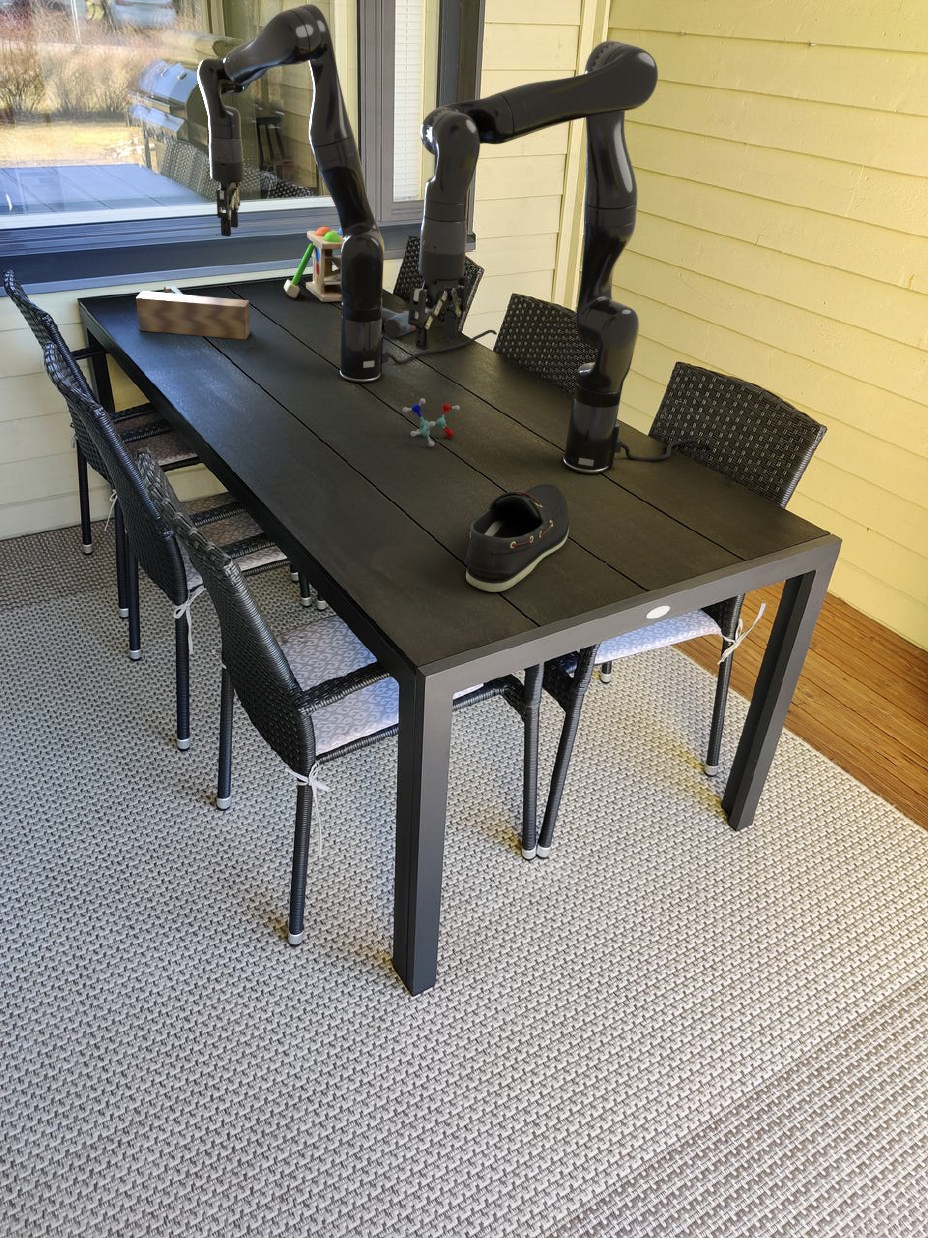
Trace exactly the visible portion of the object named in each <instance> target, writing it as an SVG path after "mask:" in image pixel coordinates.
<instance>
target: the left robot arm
mask: <svg viewBox="0 0 928 1238" xmlns="http://www.w3.org/2000/svg"><path fill="white" fill-rule="evenodd" d="M307 62H308V64H309V67H310V71H311V73H310V74H311V77H312V84H313V99H312V106H311V112H310V118H309V125H308V139H309V144H310V147H311V151H312V154H313V158H314V160H315V164H316V167H317V170H318V173H319V175H320V177H321V179H322V181H323V184H324V185H325V188H326V190H327V192H328V194H329V196H330V197H331V199H332V201H333V204H334V206H335V210H336V213H337V217H338V221H339V226H340V228H341V231H342V237H343V245H342V249H340V256H341V301H340V302H341V307H340V308H341V310H340V311H341V312H340V314H341V315H340V322H341V323H340V370H339V376H340V377H341V378H342V380H345V381H348V382H352V383H359V384H360V383H361V384H364V383H365V384H366V383H367V384H369V383H373V382H376V381H378V380H380V378H381V375H382V374H383V364H386V363H388V362H389V359H390V358H391V360H392V361H393V362H394V363H395V364H397V365H398V364H399V365H404V364H406V363H408V362H410V361H412V360H414V359H416V358H418V357H422V356H427V355H432V354H433V355H434V354H440V353H444V352H448V351H449V352H450V351H453V350H456V349H459V348H463V347H465V346H467V345H469V344H472V343H473V342H475V341H476V340H478V339H480V338H483V337H484V336H486V335H488V334H493V335H495V336H497V335H498V333H497V332H496V330H494V329H488V330H485V331H484V332H481V333H479V334H477V335H475V336H473V337H472V338H470V339H469V340H467V341H464V342H462V343H459V344H456V345H452V346H447V347H444V348H438V349H433V350H425V351H421V352H416V353H414V354H413V355H411V356H409V357H407V358H406V359H403V360H398V359H397V358H396V356H395V355H394V354H393V353H389V352H390V351H388V350H386V349H384V335H383V334H382V327H383V326H382V307H383V299H384V298H383V297H384V296H383V295H384V294H383V292H384V291H383V287H384V286H383V284H384V283H383V282H384V261H385V260H384V258H385V257H384V256H385V243H384V242H385V241H384V239H383V236H382V234H381V232H380V228H379V226H378V224H377V222H376V219H375V215H374V213H373V210H372V207H371V205H370V202H369V198H368V194H367V188H366V181H365V176H364V175H365V174H364V172H363V171H364V170H363V166H362V162H361V161H362V160H361V158H360V153H359V148H358V145H357V142H356V138H355V134H354V131H353V127H352V125H351V121H350V117H349V114H348V111H347V106H346V103H345V98H344V94H343V89H342V86H341V81H340V77H339V70H338V65H337V59H336V55H335V50H334V44H333V38H332V34H331V30H330V27H329V24H328V21H327V19H326V16H325V15H324V13H323V12H322V10H321V9H320V8H319V6H317V5H315V4H312V3H308V4H307V3H306V4H303V5H299V6H296V7H293V8H290V9H286V10H284V11H280V12H278V13H277V14H276V15H274V16H273V17H272V18H271V19H270V20H269V21H268V22H267V23H266V24H265V25H264V27H263V28H262V29H261V30H260V31H259V32H258V33H257V34H256V35H255V36H254V37H253V38H250V39H249V40H247V41H245V42H243V43H241V44H239V45H238V46H236V47H234V48H232V49H231V50H230V51H228V53H226V55H225V56H224V58H217V57H215V58H214V57H213V58H211V57H210V58H204V59H203V60H201V62H200V63H199V65H198V69H197V81H198V84H199V85H198V86H199V88H200V91H201V94H202V97H203V101H204V105H205V109H206V112H207V116H208V131H209V132H208V134H209V138H208V139H209V140H208V141H209V143H208V152H209V170H210V171H209V172H210V178H211V180H212V181H215V182H218V183H219V188H218V189H216V191H215V193H216V216H217V218H218V219H219V220H220V234H221V236H222V237H231V236H232V228H233V229H237V228H238V227H239V210H240V206H241V199H240V197H241V196H240V183H242V182H243V181H244V179H245V174H244V171H245V169H244V149H243V142H242V141H243V140H242V126H241V123H242V121H241V114H240V111H239V110H238V109H237V108H235V107H232V106H228V105H225V104H224V102H223V99H222V96H234V95H236V96H237V95H240V94H242V93H244V92H246V91H247V90H248V88H249V87H250V85H251V84H252V83H254V82H256V81H258V80H260V79H261V78H263V77H264V76H265V75H267V74H268V73H269V71H270V70H271V69H272V68H277V67H285V66H293V65H302V64H303V63H307ZM224 211H225V212H224Z"/></svg>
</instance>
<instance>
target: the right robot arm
mask: <svg viewBox="0 0 928 1238" xmlns="http://www.w3.org/2000/svg"><path fill="white" fill-rule="evenodd" d="M658 79H659V70H658V65H657V62H656V60H655V58H654V57H653V55H652V54H650V52H648V51H647V50H646V49H644V48H642V47H639V46H636V45H633V44H629V43H625V42H621V41H615V40H605V41H602V42H600V43H599V44H597V45H596V46H595V47H594V48H593V49H592V51H591V52H590V53H589V55H588V58H587V60H586V63H585V67H584V73H583V74H579V75H575V76H571V77H564V78H559V79H552V80H551V79H550V80H542V81H535V82H530V83H525V84H521V85H517V86H515V87H512V88H509V89H506V90H502V91H500V92H496V93H493V94H491V95H489V96H486V97H483V98H478V99H470V100H464V101H459V102H454V103H449V104H445V105H441V106H438V107H437V108H435V109H433V110H431V112H429V113H427V115H426V116H425V118H424V119H423V121H422V123H421V126H420V140H421V142H422V145H423V146H424V148H425V149H426V151H428V152H429V153H430V154H431V155H433V156H435V157H437V163H436V168H435V173H434V175H433V176H431V177H430V178H428V179H427V181H426V183H425V187H424V194H423V197H424V198H423V208H422V209H423V212H422V222H421V227H420V235H419V237H420V238H419V255H418V273H419V275H420V276H421V277H422V278H423V284H422V286H421V287H422V288H416V287H411V289H410V293H409V305H408V311H409V315H408V324H410V325H413V326H416V330H415V341H414V342H415V343H414V344H415V348H416V349H418V350H421V351H423V352H425V351H428V350H429V347H430V329H431V328H430V327H431V324H432V322H433V321H434V320H433V318H434V319H435V318H437V316H438V315H439V312H440V311H442V310H444V312H445V314H446V315H445V316H444V324H443V325H444V326H443V336H444V338H445V339H450V340H455V339H456V338H457V332H458V323H459V318H460V317H461V315H462V312H464V313H465V312H466V311H467V308H468V293H469V290H468V289H469V277H468V276H464V274H465V263H466V262H465V261H466V251H467V250H466V248H467V235H468V231H467V229H468V228H467V216H468V204H469V191H470V187H471V185H472V182H473V179H474V176H475V171H476V168H477V164H478V161H479V158H480V151H481V145H482V144H483V145H484V144H486V145H501V144H505V143H508V142H511V141H514V140H518V139H520V138H524V137H525V136H528V135H532V134H534V133H536V132H540V131H542V130H546V129H548V128H551V127H554V126H558V125H561V124H565V123H568V122H573V121H576V120H580V119H584V118H585V130H586V131H585V133H586V146H585V147H586V149H585V188H584V204H583V244H582V245H583V246H582V261H581V262H582V263H581V264H582V265H581V275H580V283H579V290H578V298H577V299H578V300H577V306H576V315H575V316H576V317H575V330H576V333H577V336H578V338H579V339H580V341H582V342H583V343H584V344H586V345H588V346H590V347H592V348H594V349H596V350H597V355H596V358H595V362H587V363H584V364H581V365H580V366H579V367H578V369H577V371H576V377H575V383H574V391H573V397H572V403H571V410H570V414H569V415H570V417H569V421H568V422H569V423H568V428H567V437H566V442H565V448H564V454H563V457H562V462H563V465H564V466H565V467H566V468H568V469H570V470H571V471H575V472H577V473H581V474H588V475H594V474H595V475H596V474H602V473H604V472H606V471H608V470H610V469H611V470H612V469H613V466H614V459H615V454H619V453H621V451H622V449H624V450H625V451H624V452H625V456H626V458H628V459H630V460H632V461H637V462H638V461H640V462H648V463H653V462H659V461H663V460H666V459H668V458H669V457H670V456H671V454H672V448H673V447H675V446H680V445H686V444H697V442H698V440H699V439H698V440H697V438H688V439H687V438H686V439H681V440H676V441H671V442H669V444H667V446H666V453H665V454H662V455H659V456H653V457H640V456H636V455H633V454H631V450H630V447H629V446H628V445H627V444H626V443H624V442H623V441H622V440H621V439H619V433H620V424H619V423H618V422H617V421H618V414H619V410H620V403H621V398H622V393H623V387H624V382H625V380H626V378H627V376H628V374H629V372H630V369H631V365H632V362H633V357H634V354H635V349H636V345H637V341H638V336H639V330H640V320H639V315H638V313H637V312H636V310H634V309H633V308H631V307H630V306H628V305H626V304H623V303H620V302H618V301H616V300H614V299H613V279H614V271H615V268H616V266H617V263H618V261H619V260H620V258H621V256H622V255H623V253H624V251H625V250H626V249H627V247H628V245H629V243H630V242H631V240H632V238H633V236H634V233H635V230H636V226H637V225H636V224H637V214H638V213H637V212H638V199H639V198H638V197H639V196H638V193H639V191H638V183H637V179H636V174H635V170H634V167H633V164H632V163H633V162H632V160H631V157H630V152H629V149H628V145H627V139H626V131H625V129H626V127H625V121H626V119H625V118H626V111H627V112H628V111H633V110H636V109H638V108H640V107H642V106H644V104H646V103H647V102H648V101H649V100H650V98H651V97H652V95H653V94H654V92H655V90H656V88H657V86H658V85H657V84H658V81H659V80H658ZM459 298H460V300H459ZM425 307H428V308H429V309H427V308H425ZM430 309H431V310H430ZM415 311H416V312H418V314H417V316H416V318H415ZM425 315H428V316H427V318H426V320H425V321H424V318H425ZM432 320H433V321H432ZM700 445H702V444H700ZM702 446H704V447H705V448H706V449H707V450H709V451H711V450H713V449H714V448H713V447H712V446H711V447H710V446H708V445H702Z"/></svg>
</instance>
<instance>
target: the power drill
mask: <svg viewBox="0 0 928 1238" xmlns="http://www.w3.org/2000/svg"><path fill="white" fill-rule="evenodd" d="M425 308H427V309H429V308H428V307H427V306H426V307H425ZM430 310H431V309H430ZM417 314H418V312H416V311H415V318H416V316H417ZM408 315H409V310H404V311H402V312H400V313H398V312H396V311H393V310H390V309H388V308H386V307H383V306H382V326H381V327H383V328H384V331H385V334H386V335H387V336H389V337H390V338H393V339H397V338H399V337H402V336H405V335H407V334H410V333H412V332H416V326H413V325H410V324H408ZM427 316H428V315H425V318H424V321H425V320H426V318H427ZM434 320H435V318H433V320H432V322H433V321H434Z"/></svg>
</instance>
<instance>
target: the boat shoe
mask: <svg viewBox="0 0 928 1238" xmlns="http://www.w3.org/2000/svg"><path fill="white" fill-rule="evenodd" d="M569 533H570V514H569V508H568V502H567V499H566V497H565V495H564V493H563V492H562V490H561V489H560V488H559V487H558V486H557V485H554V484H552V483H541V484H537V485H534V486H532V487H530V488H528V489H526V490H525V491H519V490H518V491H517V490H511V491H507V492H505V493H502V494H501V495H499V496H498V495H497V497H495V498H494V500H493V501H492V502H491V503H490V504H489V506H488V508H487V510H486V511H484V512H483V513H481V514H480V515H479V516H478V517H477V518H475V519H474V520H473V521H471V524H470V525H469V527H468V529H467V536H469V539H468V545H467V550H466V557H465V559H464V564H465V566H466V573H465V579H466V581H467V582H468V583H469V584H470V585H471V586H473V587H475V588H477V589H479V590H482V591H486V592H491V593H496V592H503V591H506V590H508V589H510V588H512V587H514V586H516V585H517V584H518V583H519V582H520V581H521V580H523V579H524V578H525V577H526V576H528V575H529V574H530V573H531V572H532V571H533V569H535V568H536V566H537V565H538V563H540V562H541V561H542V560H543V559H544V558H545V557H547V556H549V555H550V554H552V553H554V552H555V551H557V550H559V549H560V548H561V547H563V545H564V544H565V542H567V539H568V537H569Z"/></svg>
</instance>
